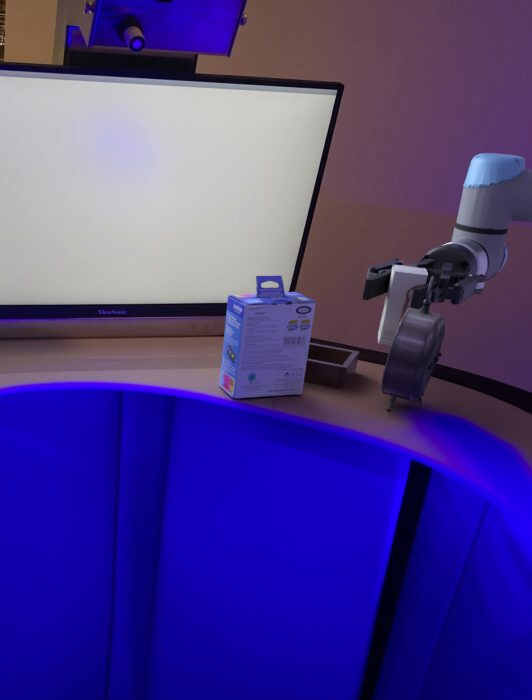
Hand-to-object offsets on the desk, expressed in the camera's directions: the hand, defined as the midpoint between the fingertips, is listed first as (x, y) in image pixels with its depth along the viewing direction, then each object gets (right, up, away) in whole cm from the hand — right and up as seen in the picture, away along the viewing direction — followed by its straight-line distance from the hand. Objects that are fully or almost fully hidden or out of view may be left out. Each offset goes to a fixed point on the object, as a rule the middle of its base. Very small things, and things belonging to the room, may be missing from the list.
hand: (390, 294), depth 110 cm
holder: (-8, -10, +6) cm, 14 cm away
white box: (+3, -5, +7) cm, 9 cm away
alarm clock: (+1, -15, -3) cm, 15 cm away
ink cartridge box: (-17, -13, -1) cm, 21 cm away
